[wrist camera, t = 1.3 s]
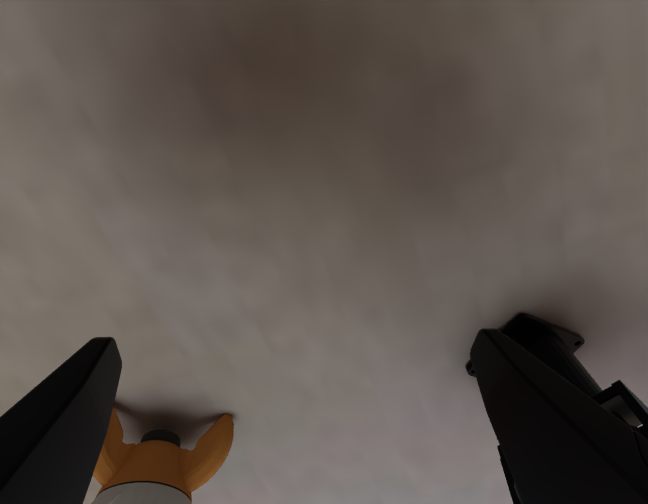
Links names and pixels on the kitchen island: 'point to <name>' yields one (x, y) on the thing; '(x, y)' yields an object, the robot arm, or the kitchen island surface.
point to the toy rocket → (158, 465)
